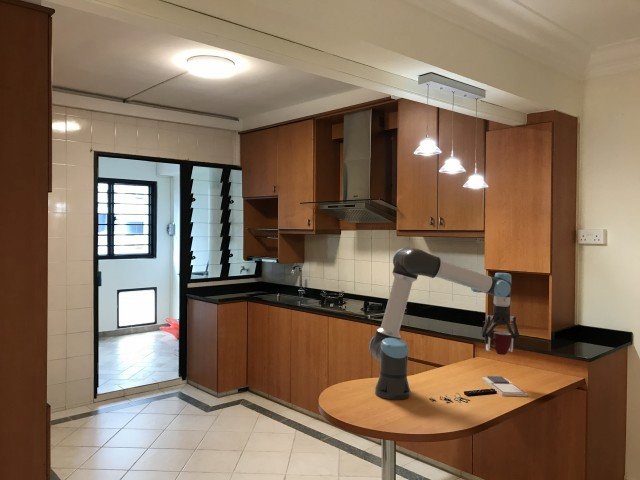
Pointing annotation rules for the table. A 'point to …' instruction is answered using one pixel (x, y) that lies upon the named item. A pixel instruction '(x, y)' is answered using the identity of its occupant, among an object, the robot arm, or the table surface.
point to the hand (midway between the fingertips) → (499, 350)
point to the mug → (501, 342)
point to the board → (504, 386)
